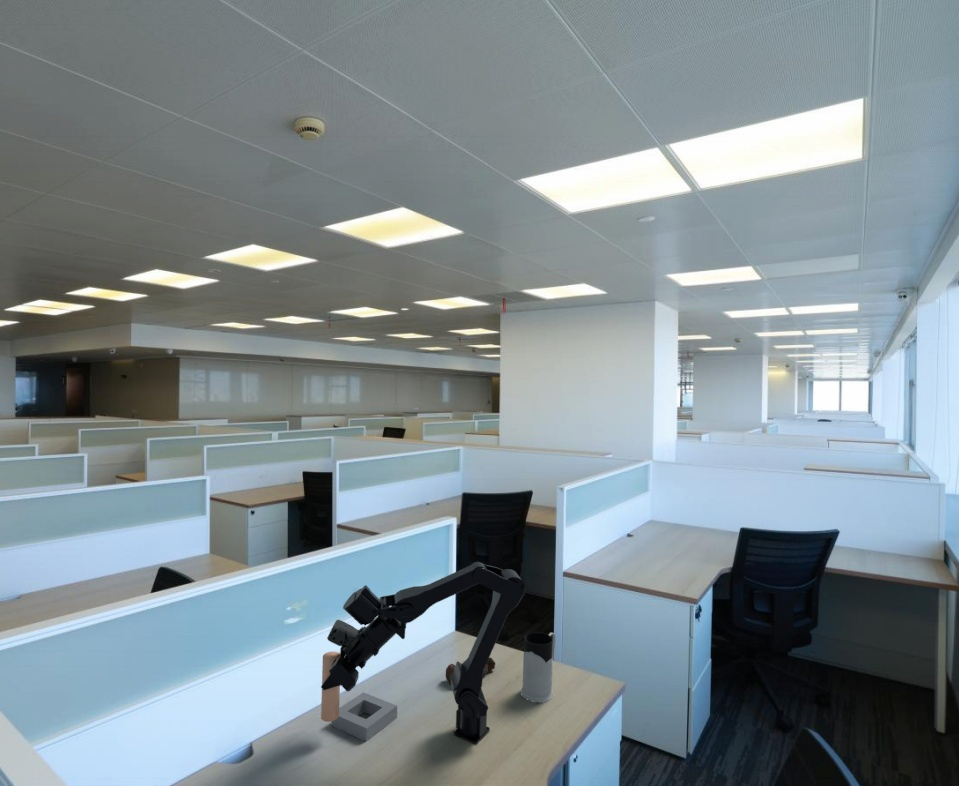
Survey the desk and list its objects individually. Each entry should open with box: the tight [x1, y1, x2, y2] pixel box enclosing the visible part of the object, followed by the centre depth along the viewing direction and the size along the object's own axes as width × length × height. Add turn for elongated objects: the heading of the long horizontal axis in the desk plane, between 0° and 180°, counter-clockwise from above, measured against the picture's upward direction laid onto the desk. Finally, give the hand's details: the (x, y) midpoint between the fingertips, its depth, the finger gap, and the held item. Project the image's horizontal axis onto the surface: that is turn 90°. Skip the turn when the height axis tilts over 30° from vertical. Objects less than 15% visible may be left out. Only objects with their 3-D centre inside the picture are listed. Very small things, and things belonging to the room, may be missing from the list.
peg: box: [320, 651, 341, 723], centre depth 128 cm, size 4×4×14 cm
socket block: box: [331, 691, 398, 742], centre depth 135 cm, size 11×11×3 cm
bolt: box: [445, 657, 496, 686], centre depth 158 cm, size 6×5×15 cm
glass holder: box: [520, 631, 556, 704], centre depth 152 cm, size 9×14×15 cm, turn 146°
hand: (325, 683), depth 128 cm, fingers closed on peg, 4 cm apart
